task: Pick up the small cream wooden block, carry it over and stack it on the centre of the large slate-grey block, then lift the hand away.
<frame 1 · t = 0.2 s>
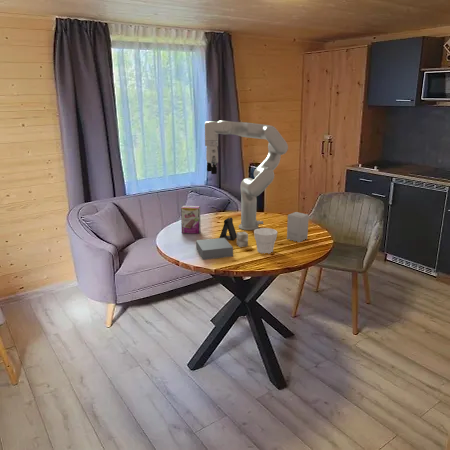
hand: (211, 172, 242), 36 cm above the table, tool pointing down, fingers open, 9 cm apart
cup: (265, 251, 220), on the table
cream block: (242, 245, 228), on the table
supplement box: (297, 239, 238), on the table
slate block: (214, 252, 217), on the table
candy bar box: (191, 232, 250), on the table
phone stand: (228, 238, 240), on the table
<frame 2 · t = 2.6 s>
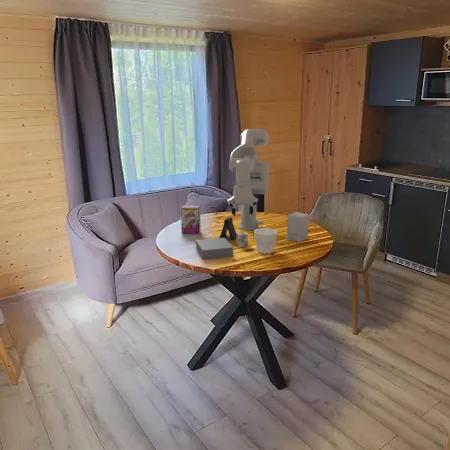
hand: (242, 214, 223), 18 cm above the table, tool pointing down, fingers open, 9 cm apart
nothing on the table moved.
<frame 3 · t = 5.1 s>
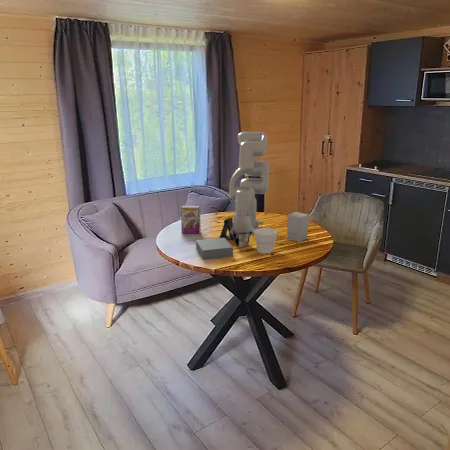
hand: (242, 243, 228), 1 cm above the table, tool pointing down, fingers closed on cream block, 5 cm apart
cream block: (242, 245, 228), on the table, touching gripper
everything else where it was.
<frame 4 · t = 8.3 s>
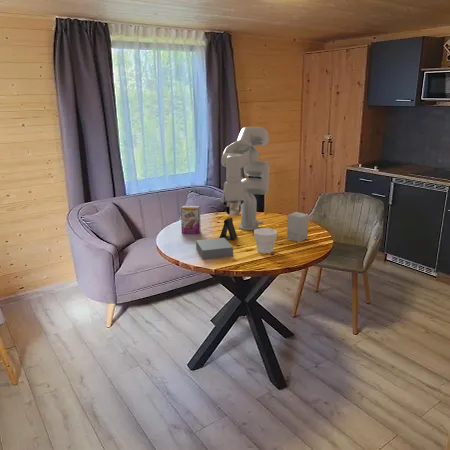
hand: (233, 212, 218), 20 cm above the table, tool pointing down, fingers closed on cream block, 5 cm apart
cream block: (233, 214, 219), point 19 cm above the table, touching gripper
everything else where it was.
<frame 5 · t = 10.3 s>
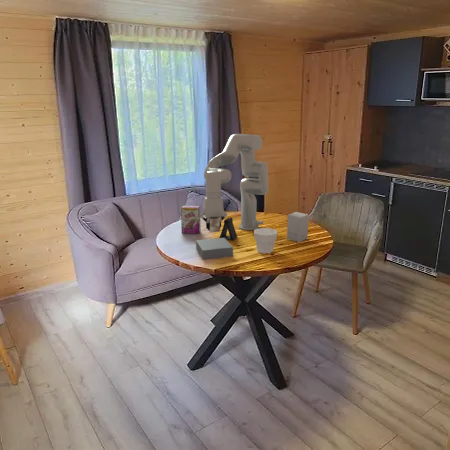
hand: (213, 228, 213), 13 cm above the table, tool pointing down, fingers closed on cream block, 5 cm apart
cream block: (213, 230, 213), point 12 cm above the table, touching gripper
everything else where it was.
when the fingers open (7 cm above the table, at t = 11.7 s): cream block drops 1 cm, resting on slate block.
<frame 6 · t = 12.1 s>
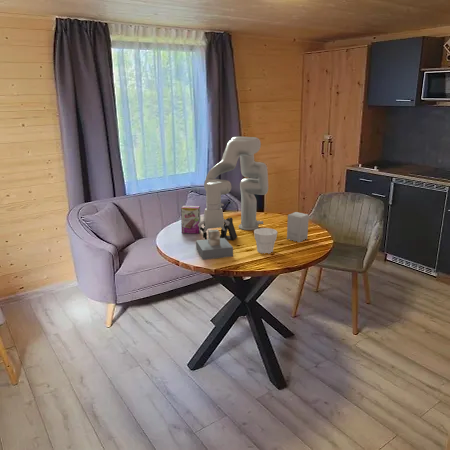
hand: (213, 238, 215), 8 cm above the table, tool pointing down, fingers open, 8 cm apart
cream block: (214, 243, 216), point 5 cm above the table, touching slate block
everything else where it was.
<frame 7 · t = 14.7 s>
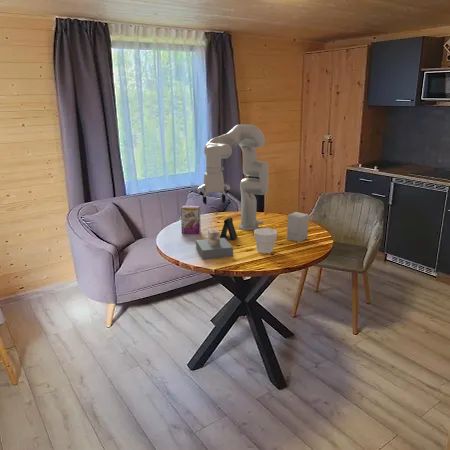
hand: (214, 203, 211), 27 cm above the table, tool pointing down, fingers open, 9 cm apart
nothing on the table moved.
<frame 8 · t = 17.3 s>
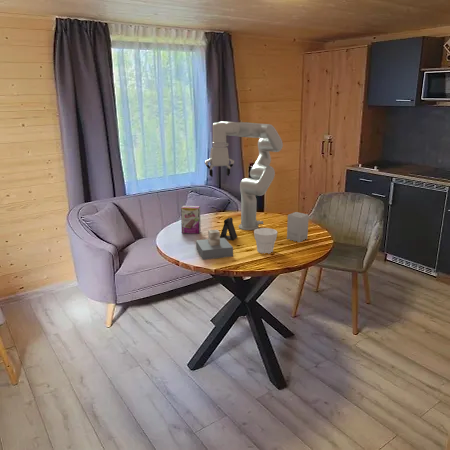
hand: (219, 175, 232), 36 cm above the table, tool pointing down, fingers open, 9 cm apart
nothing on the table moved.
at the end: cream block inside the target area on the slate block (0.0 cm from its centre), point 5.0 cm above the slate block's base; cream block tilted 0°; the gripper is holding nothing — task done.
